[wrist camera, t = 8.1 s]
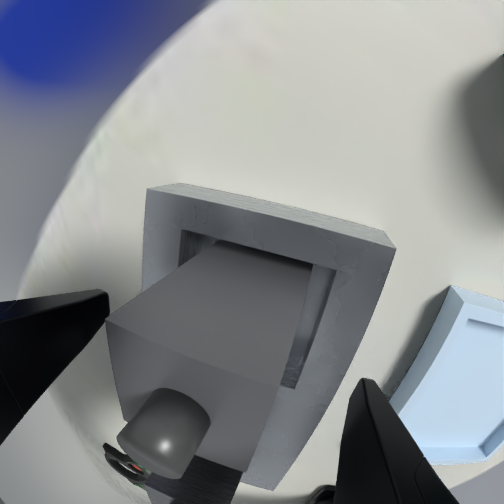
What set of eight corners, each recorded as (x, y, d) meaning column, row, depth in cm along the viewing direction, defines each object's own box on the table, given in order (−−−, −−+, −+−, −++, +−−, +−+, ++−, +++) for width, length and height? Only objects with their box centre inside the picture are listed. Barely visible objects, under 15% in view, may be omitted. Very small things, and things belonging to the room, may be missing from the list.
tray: (481, 445, 12) (486, 461, 10) (359, 440, 14) (359, 460, 13) (568, 322, 8) (581, 335, 6) (450, 285, 10) (464, 302, 9)
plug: (290, 343, 13) (227, 515, 5) (209, 318, 13) (96, 452, 6) (313, 263, 11) (256, 455, 3) (219, 239, 12) (55, 354, 4)
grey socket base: (281, 465, 17) (245, 565, 8) (170, 425, 19) (110, 509, 10) (384, 231, 11) (478, 401, 2) (179, 182, 12) (-15, 230, 4)
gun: (139, 438, 20) (219, 496, 20) (147, 428, 21) (224, 485, 21) (91, 449, 26) (147, 494, 26) (97, 443, 27) (151, 487, 28)
